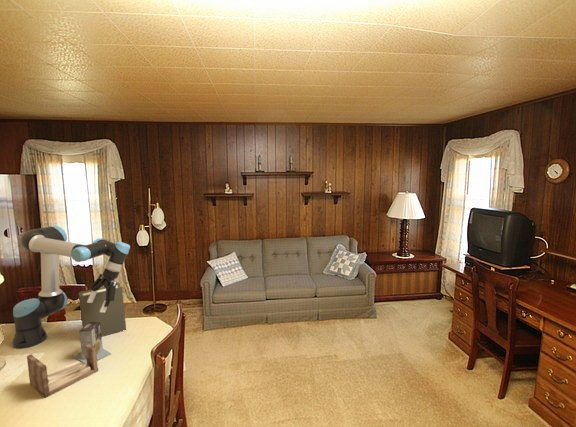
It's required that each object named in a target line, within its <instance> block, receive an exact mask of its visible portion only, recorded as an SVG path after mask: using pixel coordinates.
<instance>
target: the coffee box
mask: <svg viewBox="0 0 576 427" xmlns="http://www.w3.org/2000/svg"><path fill="white" fill-rule="evenodd" d="M78 332H79V342H80V353H81V355H82V359H87V358H86V347H85V345H88V344H90V345H91V346H93V347H95V348H96V352H97V355H98V354H99V353H100V352H101V351H102V349H104V347H103V336H102V335H101V325H100V322H88V323H87V324H86V325H85V326H84V327H83V326H82V327H81V328H79V331H78Z"/></svg>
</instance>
